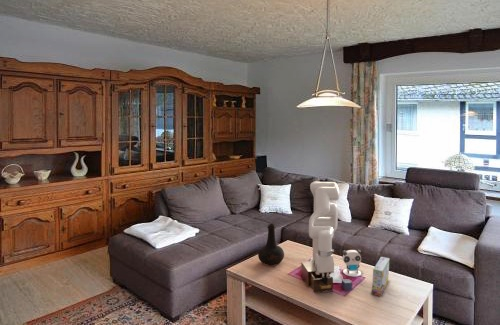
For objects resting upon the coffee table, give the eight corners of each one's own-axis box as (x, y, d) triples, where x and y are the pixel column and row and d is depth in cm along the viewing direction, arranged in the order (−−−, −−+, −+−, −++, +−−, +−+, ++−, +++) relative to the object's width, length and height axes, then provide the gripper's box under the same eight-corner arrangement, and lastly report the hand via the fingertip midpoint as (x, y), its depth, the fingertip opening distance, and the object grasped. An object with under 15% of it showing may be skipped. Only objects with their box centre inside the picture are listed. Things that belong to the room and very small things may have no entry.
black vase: (253, 263, 242) (252, 225, 238) (269, 255, 255) (268, 218, 251) (273, 271, 230) (272, 230, 226) (289, 262, 243) (288, 223, 239)
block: (348, 285, 209) (348, 278, 208) (351, 289, 204) (352, 282, 204) (341, 286, 208) (341, 279, 207) (344, 290, 204) (344, 283, 203)
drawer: (335, 294, 197) (336, 281, 196) (316, 296, 195) (316, 283, 194) (324, 279, 215) (324, 267, 214) (306, 281, 213) (306, 269, 212)
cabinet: (328, 285, 210) (328, 270, 209) (308, 287, 208) (308, 271, 207) (320, 274, 224) (320, 260, 223) (301, 275, 223) (301, 261, 221)
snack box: (381, 296, 196) (382, 271, 194) (371, 294, 199) (372, 269, 197) (389, 281, 214) (389, 257, 211) (379, 278, 216) (380, 255, 214)
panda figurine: (344, 276, 220) (344, 254, 218) (340, 268, 231) (340, 247, 229) (363, 276, 220) (364, 253, 218) (358, 268, 231) (358, 247, 229)
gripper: (334, 248, 200) (334, 278, 203) (309, 250, 198) (309, 281, 201) (340, 254, 193) (339, 285, 196) (314, 256, 191) (314, 287, 194)
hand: (324, 282), depth 199 cm, fingers closed
